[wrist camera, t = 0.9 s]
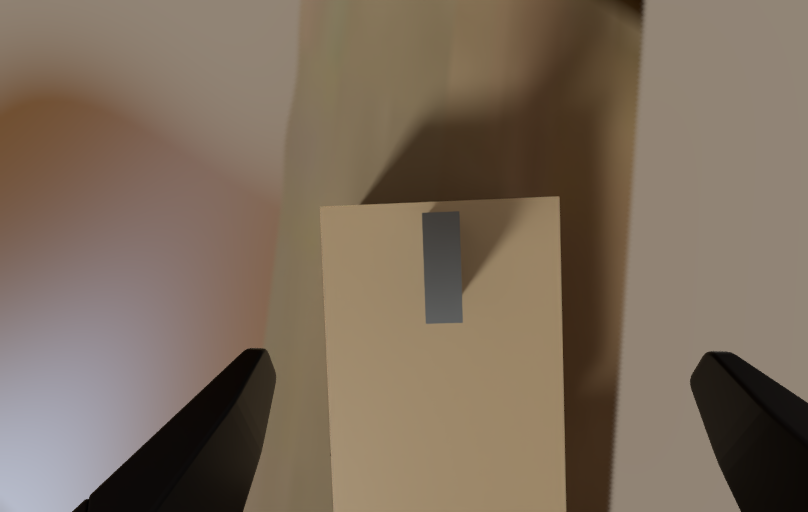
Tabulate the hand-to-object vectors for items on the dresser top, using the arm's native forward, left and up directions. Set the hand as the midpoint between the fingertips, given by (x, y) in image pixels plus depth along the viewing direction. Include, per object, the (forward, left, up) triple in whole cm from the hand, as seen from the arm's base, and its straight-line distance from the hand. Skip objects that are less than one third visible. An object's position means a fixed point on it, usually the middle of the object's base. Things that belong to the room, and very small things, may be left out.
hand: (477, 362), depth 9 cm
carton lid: (-2, -2, -9) cm, 10 cm away
